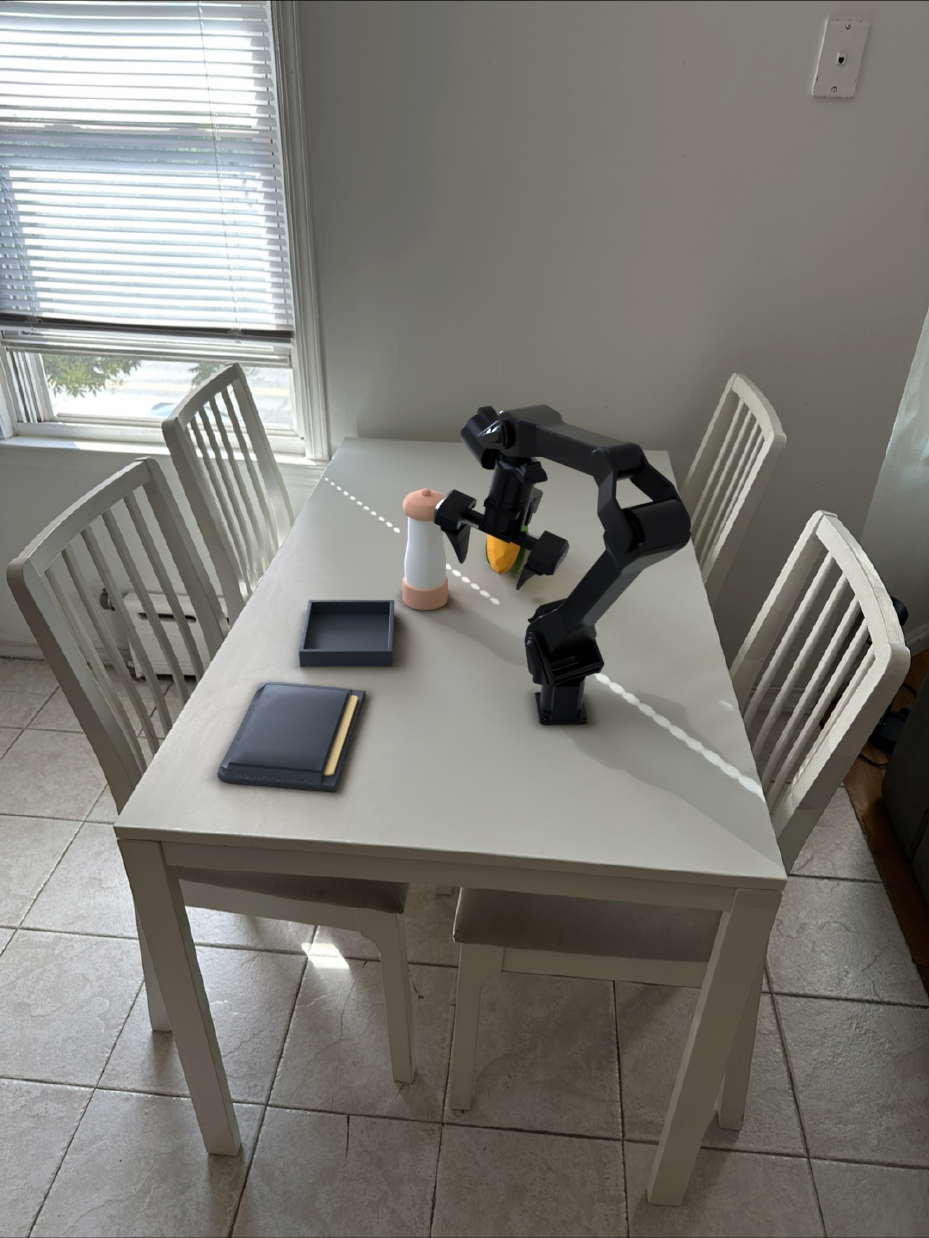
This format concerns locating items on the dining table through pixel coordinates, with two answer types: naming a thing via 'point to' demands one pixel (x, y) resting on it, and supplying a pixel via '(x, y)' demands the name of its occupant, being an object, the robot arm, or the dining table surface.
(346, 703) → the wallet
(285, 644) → the dining table surface
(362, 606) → the tray
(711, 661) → the dining table surface
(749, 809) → the dining table surface
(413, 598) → the pepper shaker
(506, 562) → the corn
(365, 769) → the dining table surface
